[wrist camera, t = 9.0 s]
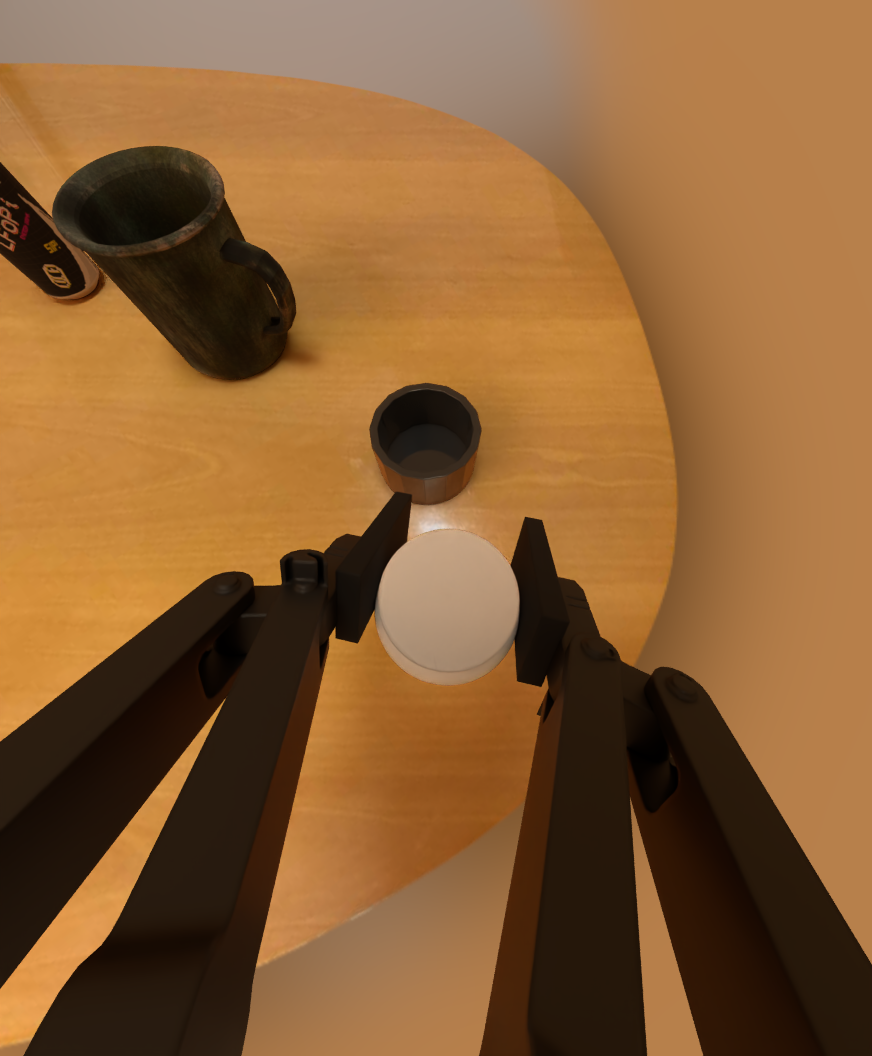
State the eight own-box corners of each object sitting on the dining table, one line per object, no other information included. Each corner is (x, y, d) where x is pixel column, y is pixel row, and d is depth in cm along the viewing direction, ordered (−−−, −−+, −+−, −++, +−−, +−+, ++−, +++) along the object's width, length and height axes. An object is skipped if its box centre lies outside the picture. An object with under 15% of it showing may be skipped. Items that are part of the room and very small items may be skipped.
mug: (216, 292, 36) (111, 132, 24) (341, 323, 34) (293, 169, 23) (161, 370, 33) (12, 229, 21) (296, 408, 31) (215, 278, 20)
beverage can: (115, 271, 37) (-30, 109, 25) (87, 309, 35) (-81, 153, 24) (70, 263, 37) (-93, 100, 26) (40, 300, 36) (-148, 143, 24)
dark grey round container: (481, 430, 30) (489, 393, 26) (464, 513, 28) (469, 488, 23) (394, 415, 31) (386, 375, 26) (370, 494, 29) (356, 466, 24)
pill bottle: (479, 683, 17) (519, 736, 8) (381, 650, 17) (323, 666, 9) (505, 582, 18) (560, 536, 10) (414, 554, 19) (391, 488, 10)
